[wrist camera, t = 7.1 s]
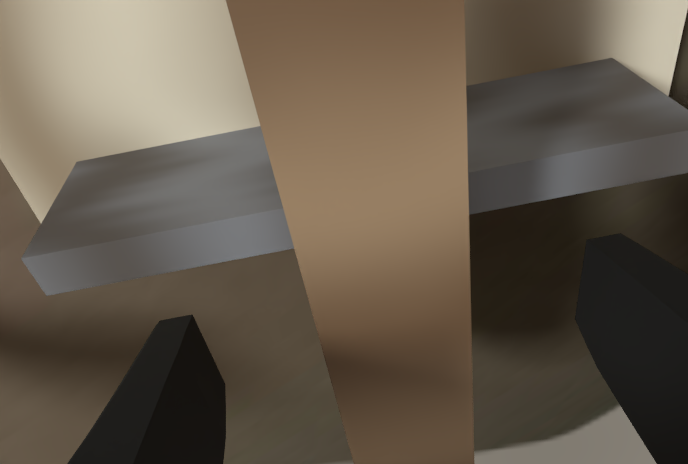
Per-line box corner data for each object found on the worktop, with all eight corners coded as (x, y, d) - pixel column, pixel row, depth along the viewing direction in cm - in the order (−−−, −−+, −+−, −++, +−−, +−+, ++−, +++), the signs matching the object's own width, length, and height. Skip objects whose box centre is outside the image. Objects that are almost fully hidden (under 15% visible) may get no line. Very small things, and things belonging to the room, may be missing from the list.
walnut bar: (442, 409, 18) (475, 521, 15) (358, 425, 18) (375, 540, 15) (392, -217, 8) (458, -240, 5) (208, -181, 8) (175, -183, 5)
